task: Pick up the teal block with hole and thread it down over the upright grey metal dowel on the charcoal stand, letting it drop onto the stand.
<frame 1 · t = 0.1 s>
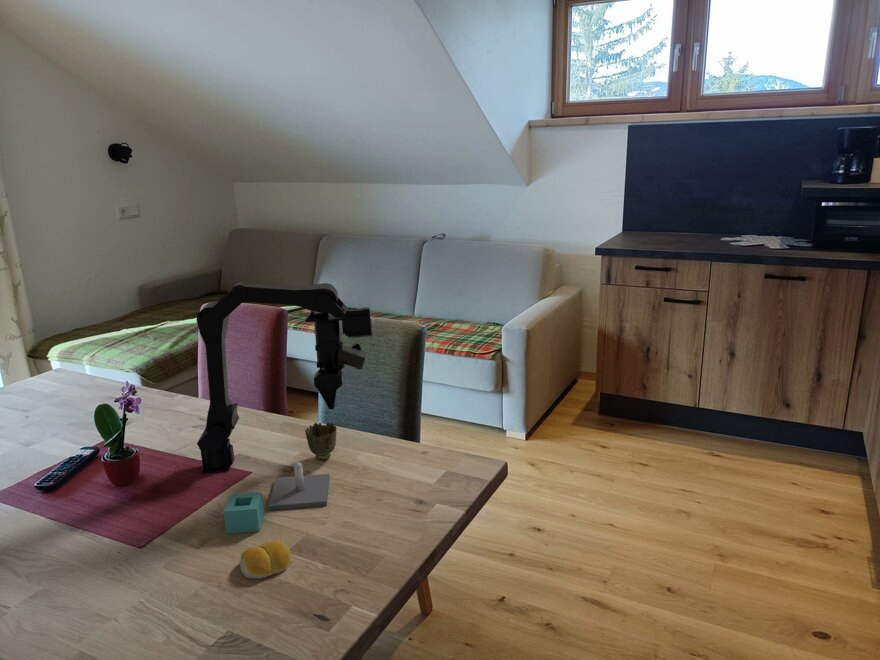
hand: (332, 401, 155), 15 cm above the table, tool pointing down, fingers open, 9 cm apart
cup: (323, 459, 159), on the table
teal block with hole: (245, 523, 132), on the table
post stand: (300, 493, 143), on the table
bread roll: (265, 567, 119), on the table
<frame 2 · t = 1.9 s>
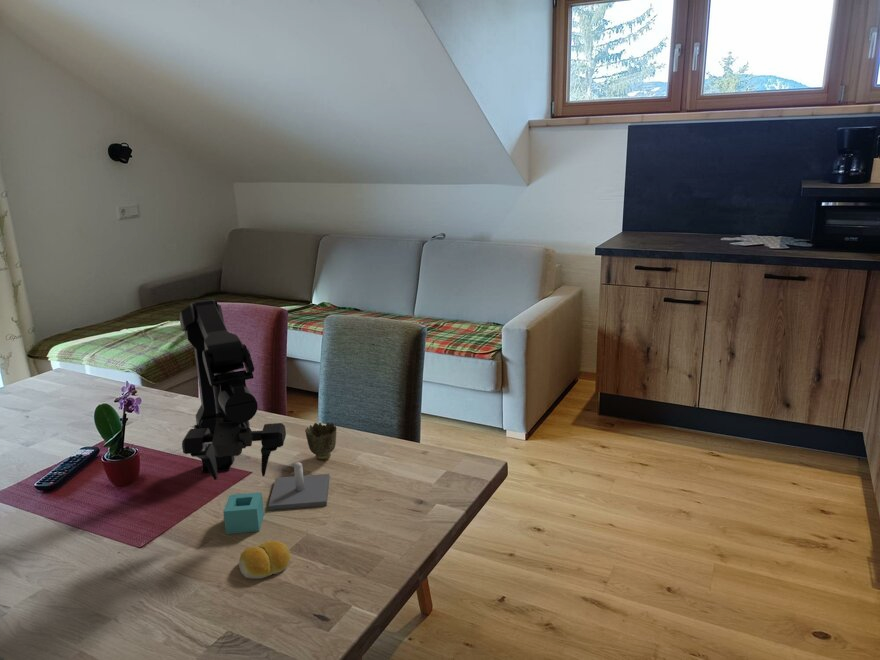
hand: (240, 477, 129), 10 cm above the table, tool pointing down, fingers open, 9 cm apart
nothing on the table moved.
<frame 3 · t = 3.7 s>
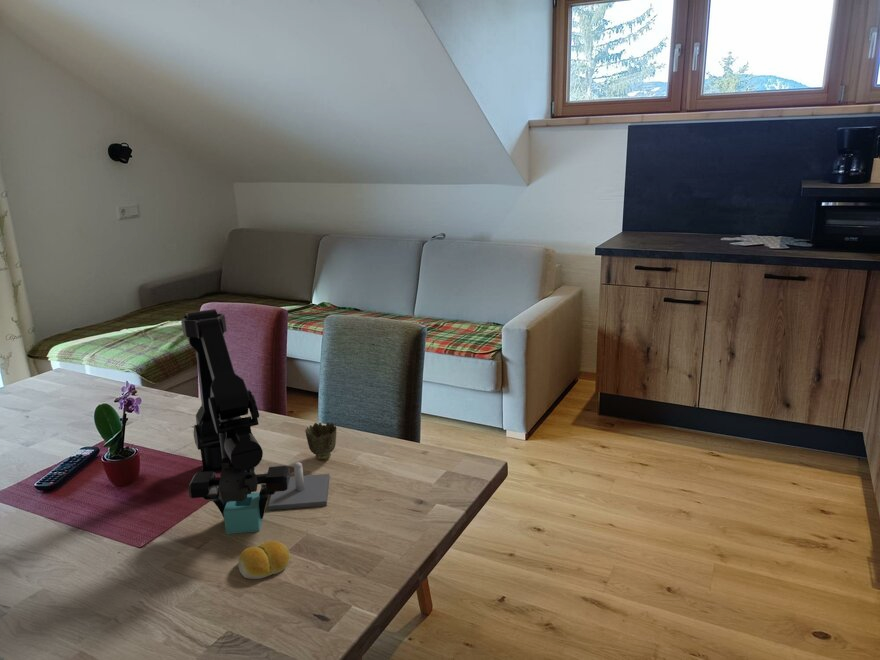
hand: (245, 519, 132), 1 cm above the table, tool pointing down, fingers closed on teal block with hole, 6 cm apart
teal block with hole: (245, 523, 132), on the table, touching gripper
everything else where it was.
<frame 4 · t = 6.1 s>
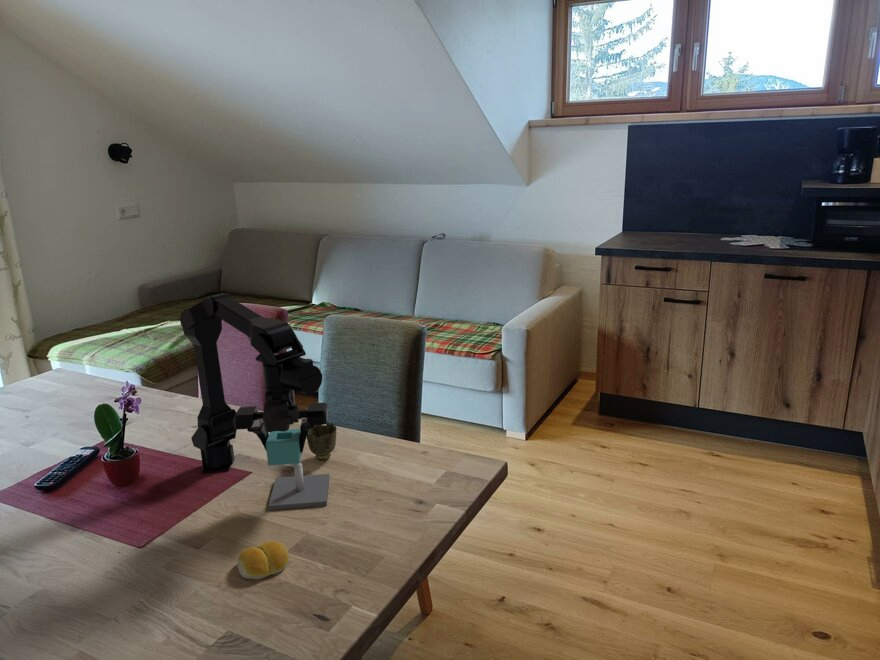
hand: (285, 452, 138), 11 cm above the table, tool pointing down, fingers closed on teal block with hole, 6 cm apart
teal block with hole: (286, 457, 138), point 10 cm above the table, touching gripper
everything else where it was.
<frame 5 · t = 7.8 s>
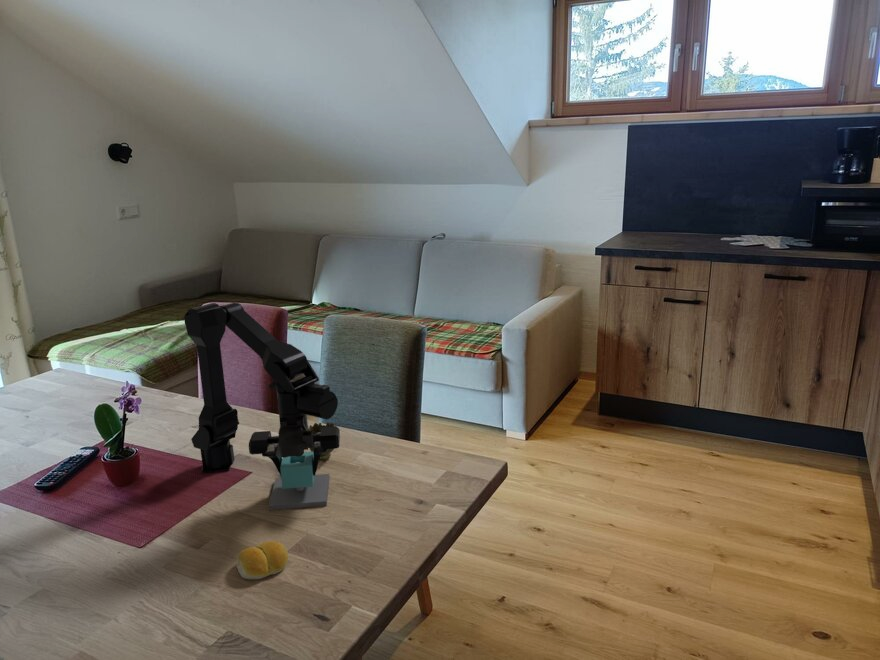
hand: (298, 475, 142), 4 cm above the table, tool pointing down, fingers closed on teal block with hole, 6 cm apart
teal block with hole: (299, 480, 142), point 3 cm above the table, touching gripper
everything else where it was.
when the fingers open (4 cm above the table, at t = 9.0 s): teal block with hole drops 2 cm, resting on post stand.
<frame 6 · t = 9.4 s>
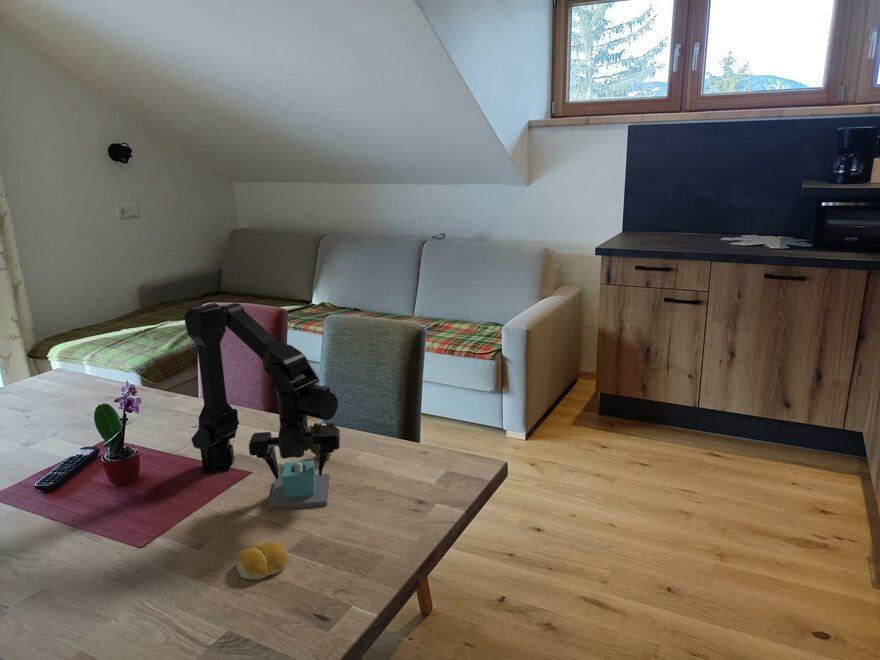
hand: (298, 476, 142), 4 cm above the table, tool pointing down, fingers open, 9 cm apart
teal block with hole: (300, 489, 143), point 1 cm above the table, touching post stand
everything else where it was.
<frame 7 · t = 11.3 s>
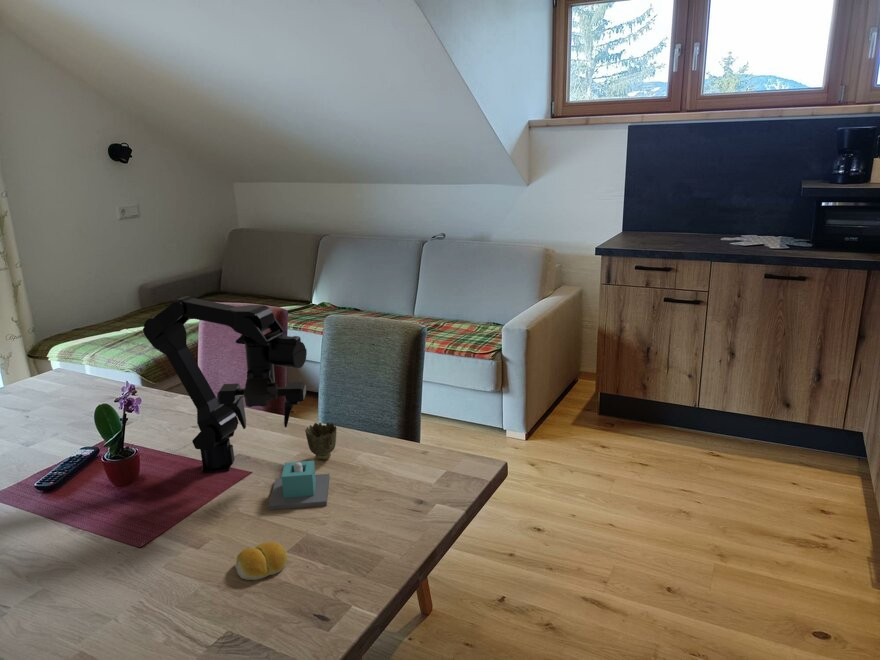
hand: (265, 427, 149), 12 cm above the table, tool pointing down, fingers open, 9 cm apart
nothing on the table moved.
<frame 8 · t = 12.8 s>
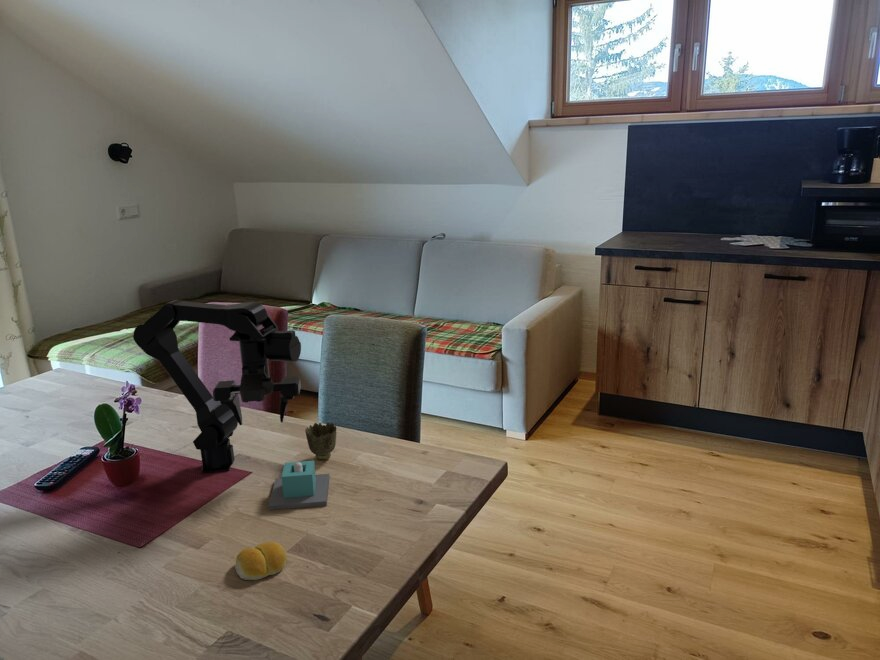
hand: (261, 423, 150), 12 cm above the table, tool pointing down, fingers open, 9 cm apart
nothing on the table moved.
at the end: teal block with hole 0.0 cm off-centre on the post stand, point 1.0 cm above the post stand's base; the gripper is holding nothing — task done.
